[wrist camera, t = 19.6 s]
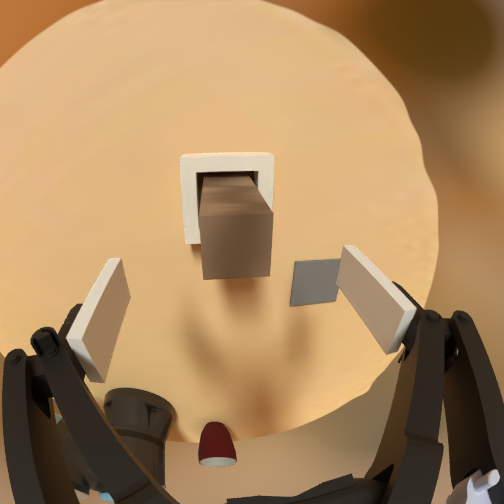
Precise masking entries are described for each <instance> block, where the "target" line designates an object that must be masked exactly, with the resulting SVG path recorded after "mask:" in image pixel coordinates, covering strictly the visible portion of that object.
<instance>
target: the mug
mask: <svg viewBox="0 0 504 504" xmlns="http://www.w3.org/2000/svg"><path fill="white" fill-rule="evenodd" d="M198 457H199V463H200V464H201V465H204V466H209V467H225V466H230V465H233V464H235V463H236V462H237V459H236V451H235V449H234V445H233V442H232V439H231V436H230V433H229V432H228V430H227V429H226V428H225V426H224V425H223V424H222V423H219V422H210V423H208V424H206V426H205V427H204V429H203V431H202V433H201V437H200V444H199V451H198Z"/></svg>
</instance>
